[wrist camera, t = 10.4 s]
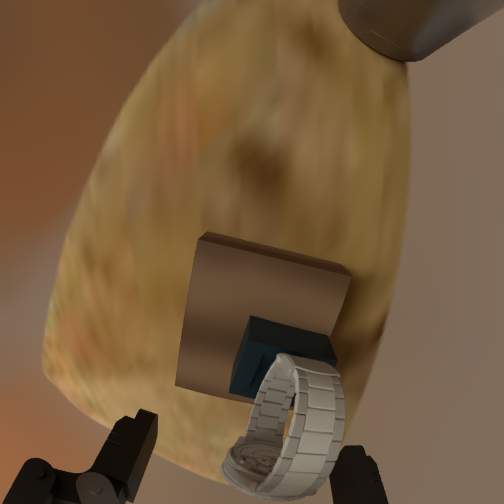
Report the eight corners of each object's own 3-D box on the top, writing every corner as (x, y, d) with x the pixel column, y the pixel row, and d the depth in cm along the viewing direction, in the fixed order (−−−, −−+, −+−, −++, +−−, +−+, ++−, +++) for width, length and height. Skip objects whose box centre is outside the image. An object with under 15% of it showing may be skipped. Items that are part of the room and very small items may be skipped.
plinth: (207, 231, 20) (198, 239, 17) (340, 264, 20) (352, 276, 17) (183, 364, 23) (174, 385, 20) (293, 388, 23) (296, 410, 20)
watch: (226, 383, 19) (204, 510, 9) (258, 291, 18) (253, 427, 7) (295, 399, 20) (310, 520, 9) (338, 313, 18) (404, 438, 7)
